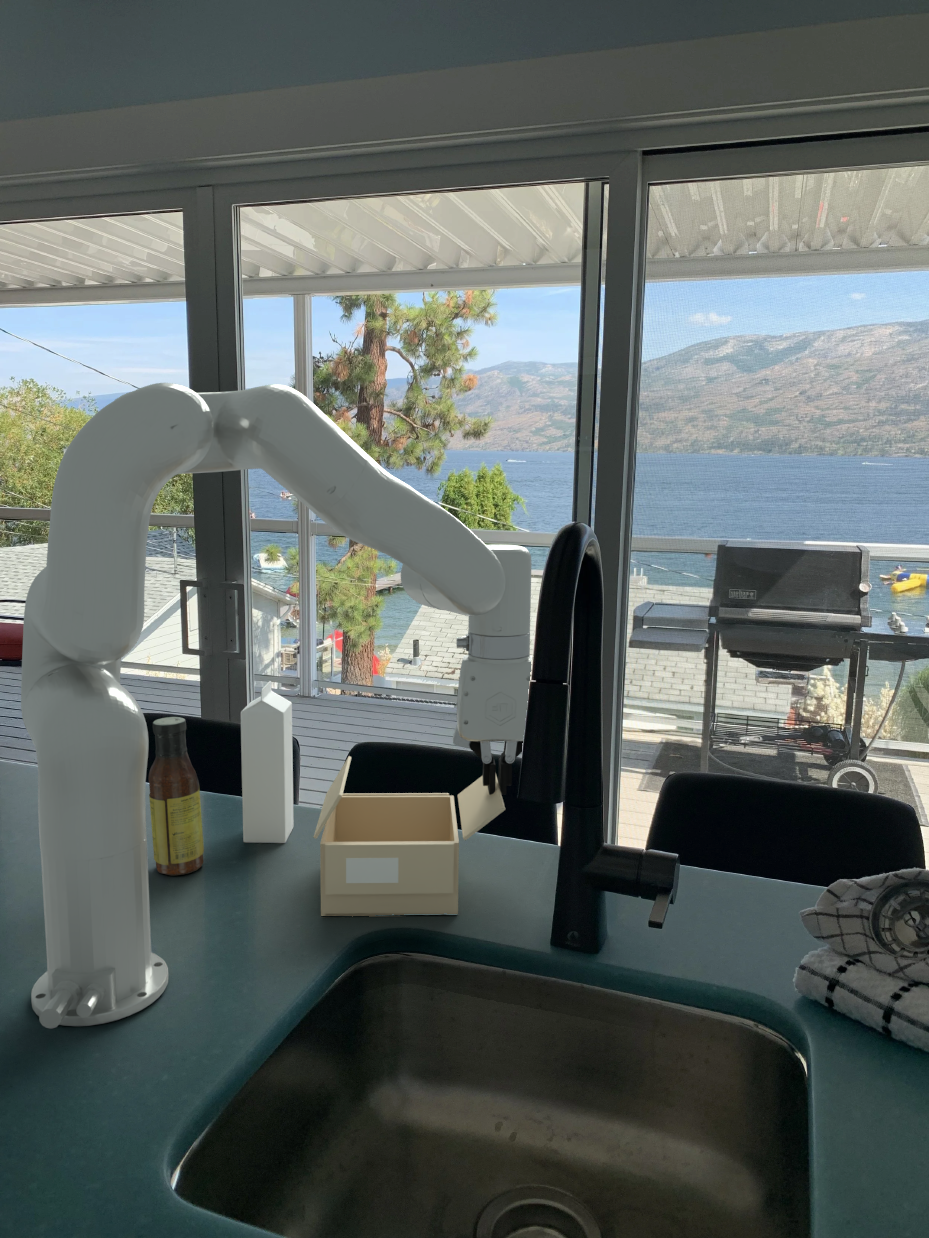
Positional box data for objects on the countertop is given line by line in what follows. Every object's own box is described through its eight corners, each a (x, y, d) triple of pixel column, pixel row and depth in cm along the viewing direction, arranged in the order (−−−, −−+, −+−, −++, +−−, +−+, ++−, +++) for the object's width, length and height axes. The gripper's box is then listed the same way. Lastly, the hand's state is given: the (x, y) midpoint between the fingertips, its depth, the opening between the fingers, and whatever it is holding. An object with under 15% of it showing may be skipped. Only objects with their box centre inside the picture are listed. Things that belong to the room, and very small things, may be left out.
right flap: (463, 838, 106) (465, 840, 106) (503, 806, 105) (505, 809, 105) (457, 794, 120) (459, 797, 120) (492, 767, 120) (494, 769, 120)
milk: (243, 843, 127) (238, 689, 123) (253, 826, 133) (249, 679, 129) (286, 843, 127) (282, 690, 123) (294, 827, 133) (291, 680, 129)
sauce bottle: (211, 859, 121) (207, 714, 118) (193, 879, 115) (188, 727, 112) (164, 856, 122) (159, 712, 119) (143, 876, 116) (137, 725, 113)
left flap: (328, 795, 119) (326, 793, 119) (351, 757, 119) (348, 755, 119) (316, 839, 105) (313, 837, 105) (342, 795, 104) (339, 794, 104)
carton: (458, 918, 106) (459, 844, 104) (320, 920, 105) (319, 845, 104) (452, 857, 123) (453, 793, 122) (333, 858, 122) (333, 793, 121)
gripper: (437, 652, 106) (436, 802, 109) (566, 652, 107) (562, 800, 110) (435, 641, 114) (435, 781, 116) (556, 640, 115) (552, 780, 117)
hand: (496, 790), depth 113 cm, fingers closed
